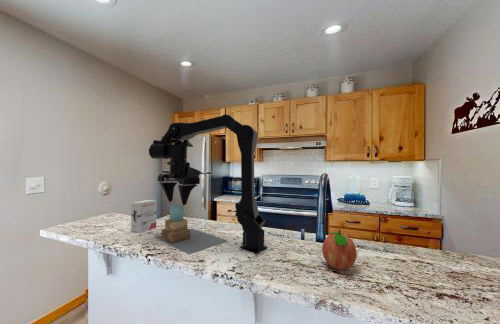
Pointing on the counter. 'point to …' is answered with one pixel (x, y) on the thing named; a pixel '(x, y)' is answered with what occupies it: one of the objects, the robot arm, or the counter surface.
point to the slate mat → (196, 242)
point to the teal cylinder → (176, 213)
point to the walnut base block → (175, 236)
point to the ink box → (143, 216)
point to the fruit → (339, 251)
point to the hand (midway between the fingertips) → (177, 203)
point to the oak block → (175, 225)
